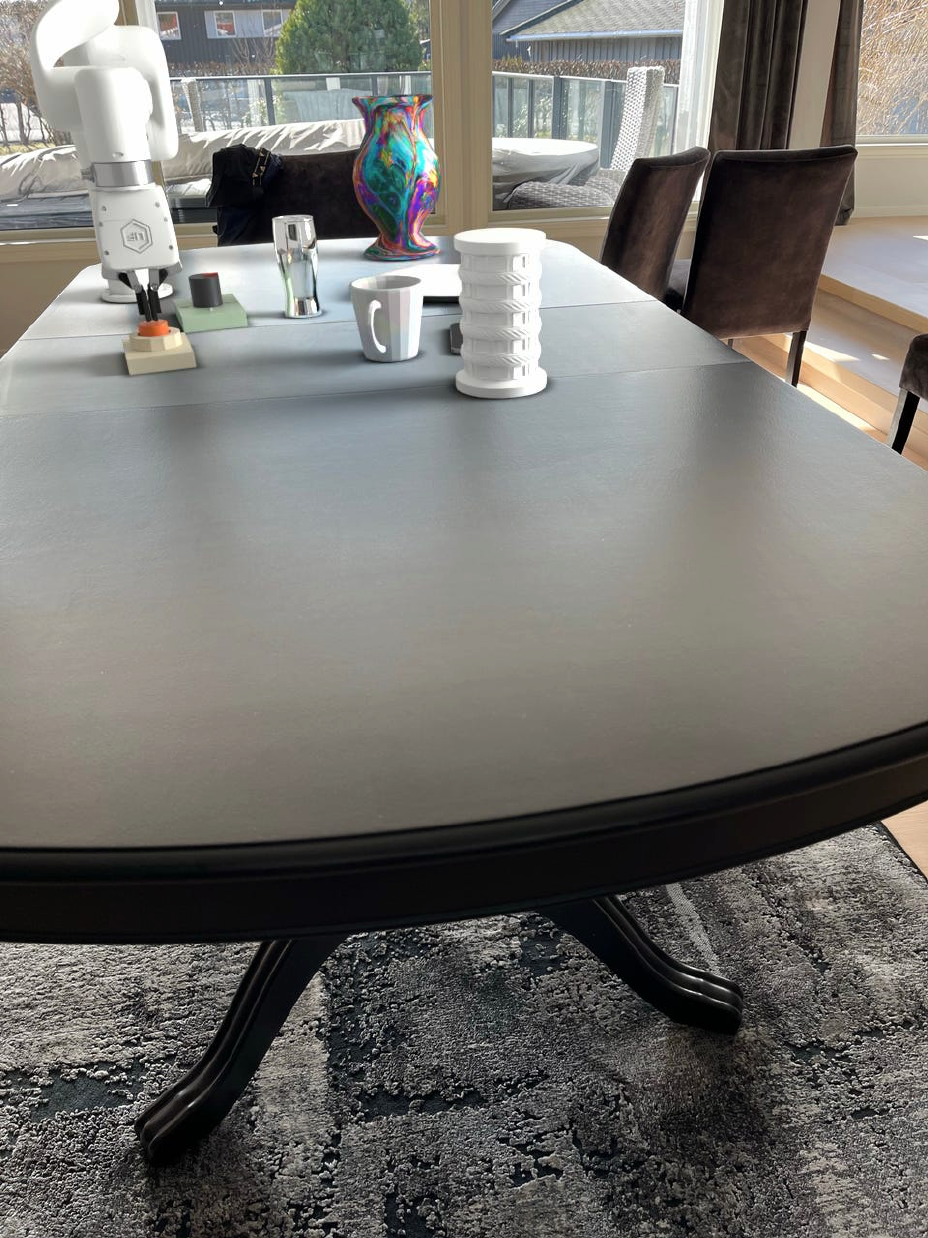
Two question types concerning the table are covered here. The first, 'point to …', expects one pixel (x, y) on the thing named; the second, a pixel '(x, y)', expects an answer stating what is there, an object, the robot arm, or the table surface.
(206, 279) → the dial
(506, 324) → the decorative container
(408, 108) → the vase
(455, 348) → the smartphone
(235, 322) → the dial panel
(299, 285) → the beer glass
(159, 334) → the button
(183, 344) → the button block
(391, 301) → the mug
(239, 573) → the table surface
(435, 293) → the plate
